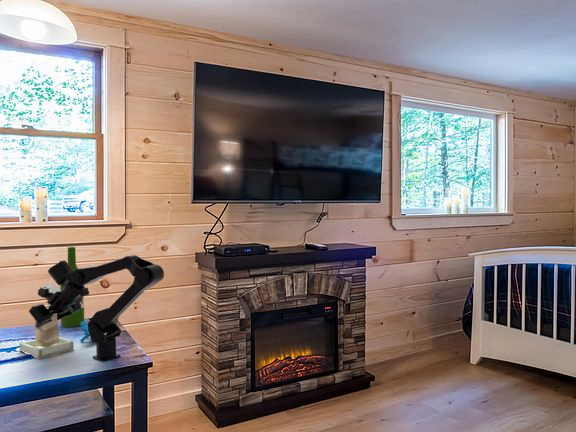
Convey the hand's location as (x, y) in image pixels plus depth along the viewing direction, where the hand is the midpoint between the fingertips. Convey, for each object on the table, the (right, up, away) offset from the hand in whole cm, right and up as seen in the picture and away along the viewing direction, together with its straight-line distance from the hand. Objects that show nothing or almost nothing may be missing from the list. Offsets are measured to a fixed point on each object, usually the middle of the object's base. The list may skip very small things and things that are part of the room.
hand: (43, 324), depth 164 cm
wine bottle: (-5, -8, +34) cm, 35 cm away
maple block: (+2, -7, 0) cm, 7 cm away
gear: (+12, -9, +11) cm, 19 cm away
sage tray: (+1, -9, 0) cm, 9 cm away
